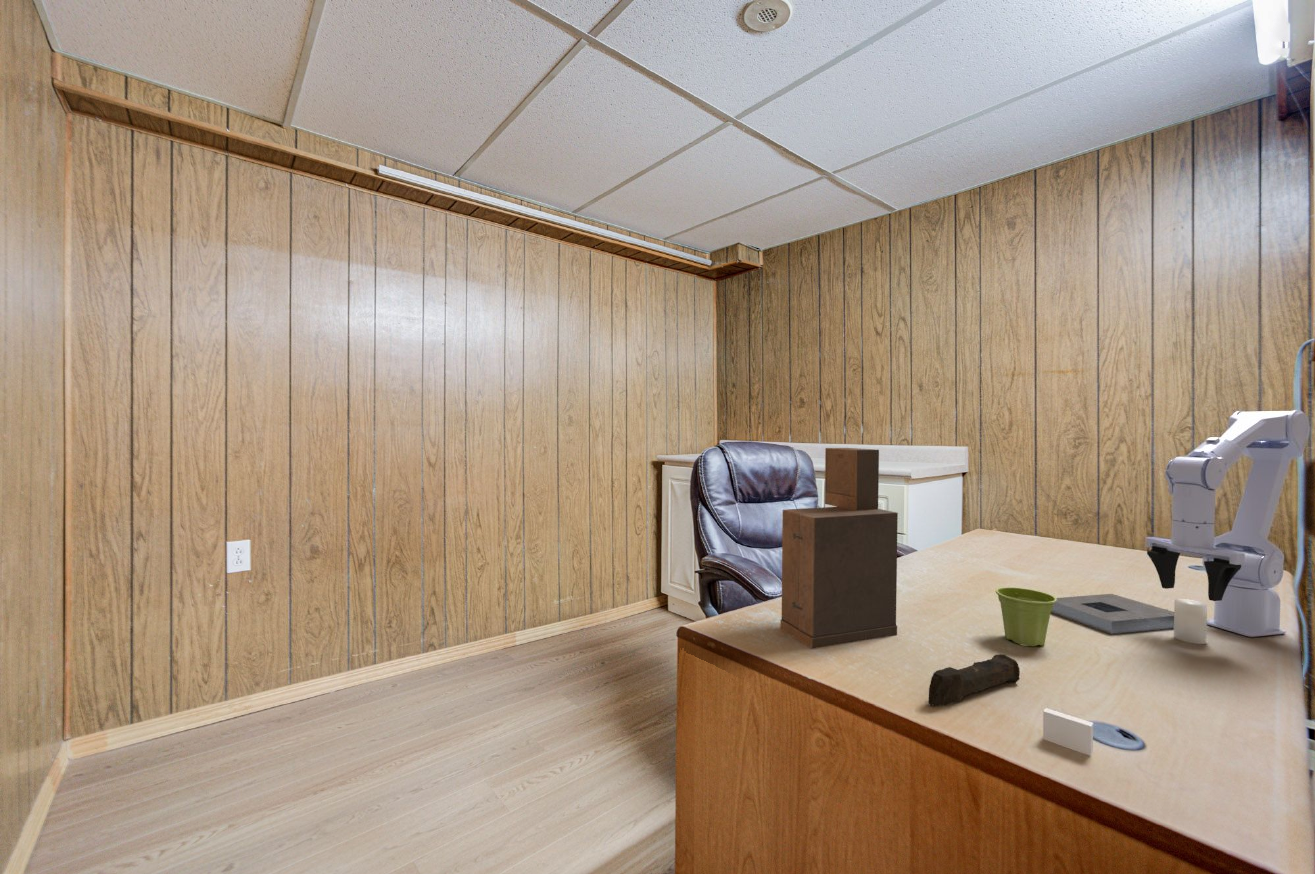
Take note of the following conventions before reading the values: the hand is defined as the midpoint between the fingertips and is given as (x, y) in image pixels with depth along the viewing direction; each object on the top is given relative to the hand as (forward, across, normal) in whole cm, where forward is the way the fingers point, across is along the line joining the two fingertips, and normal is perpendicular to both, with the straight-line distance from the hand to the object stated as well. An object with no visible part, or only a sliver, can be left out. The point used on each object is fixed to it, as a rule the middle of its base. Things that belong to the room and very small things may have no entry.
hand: (1190, 593), depth 103 cm
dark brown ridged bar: (+9, +9, -56) cm, 57 cm away
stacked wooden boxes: (+9, -18, -62) cm, 65 cm away
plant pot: (+9, -6, -31) cm, 33 cm away
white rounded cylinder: (+9, 0, 0) cm, 9 cm away
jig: (+9, -12, -3) cm, 15 cm away
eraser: (+9, +23, -55) cm, 60 cm away
